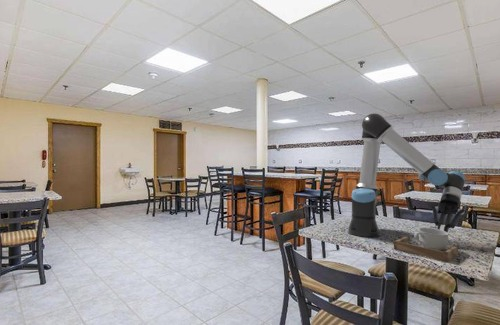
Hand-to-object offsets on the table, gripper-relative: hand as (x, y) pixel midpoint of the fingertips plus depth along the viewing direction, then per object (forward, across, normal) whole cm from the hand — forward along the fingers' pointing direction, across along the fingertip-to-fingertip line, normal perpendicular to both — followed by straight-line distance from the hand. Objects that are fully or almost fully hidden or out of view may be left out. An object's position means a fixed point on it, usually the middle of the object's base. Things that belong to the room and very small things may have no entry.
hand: (440, 238), depth 120 cm
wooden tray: (+12, +2, +8) cm, 15 cm away
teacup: (+8, +2, +3) cm, 9 cm away
